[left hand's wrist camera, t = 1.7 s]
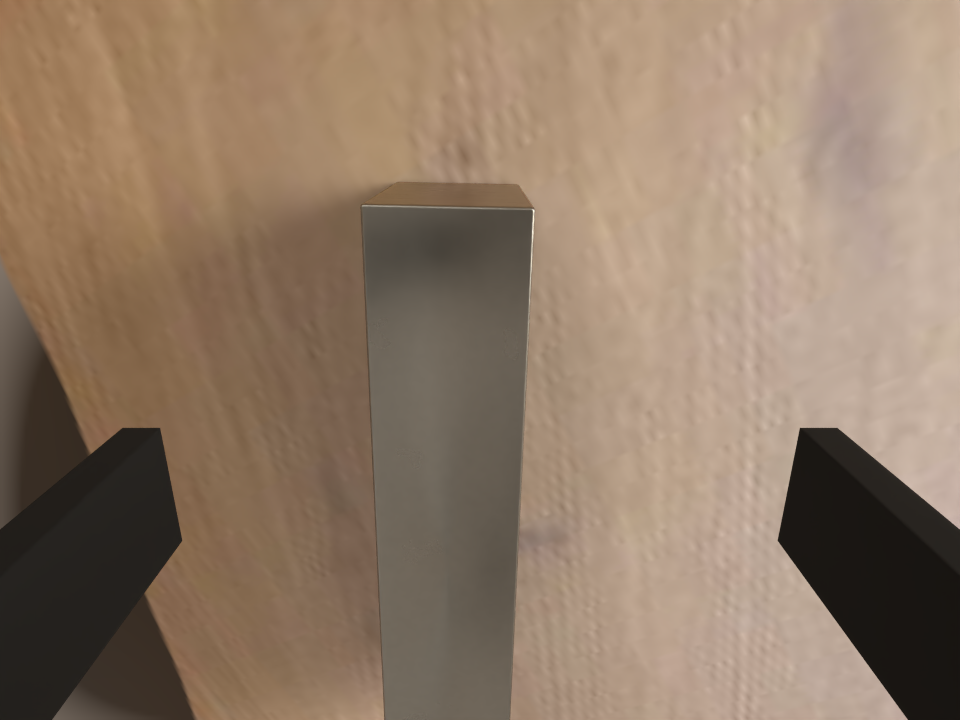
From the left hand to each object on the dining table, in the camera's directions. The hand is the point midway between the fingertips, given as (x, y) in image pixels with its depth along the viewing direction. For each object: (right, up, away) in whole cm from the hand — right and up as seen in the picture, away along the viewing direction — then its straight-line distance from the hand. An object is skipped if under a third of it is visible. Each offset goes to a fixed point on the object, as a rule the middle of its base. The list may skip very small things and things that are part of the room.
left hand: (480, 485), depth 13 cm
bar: (-1, -2, +17) cm, 17 cm away
